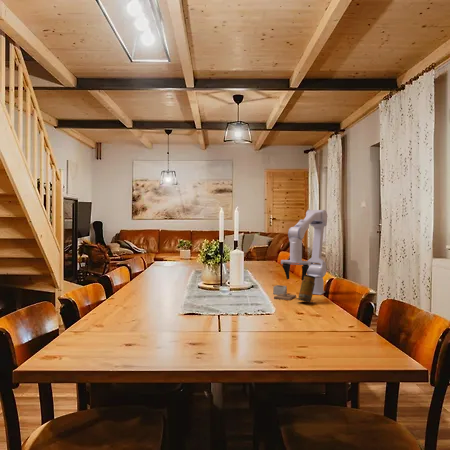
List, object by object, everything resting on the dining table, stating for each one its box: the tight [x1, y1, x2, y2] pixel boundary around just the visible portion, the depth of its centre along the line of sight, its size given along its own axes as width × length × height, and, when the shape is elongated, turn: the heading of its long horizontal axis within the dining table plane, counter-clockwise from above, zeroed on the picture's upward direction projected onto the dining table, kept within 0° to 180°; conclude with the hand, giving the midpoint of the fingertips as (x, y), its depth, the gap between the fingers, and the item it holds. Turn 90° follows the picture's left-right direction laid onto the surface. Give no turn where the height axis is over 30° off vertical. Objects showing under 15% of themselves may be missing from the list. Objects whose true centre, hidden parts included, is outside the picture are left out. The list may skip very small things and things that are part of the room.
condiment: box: [295, 274, 315, 304], centre depth 212 cm, size 7×8×12 cm
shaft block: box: [273, 289, 297, 301], centre depth 224 cm, size 10×8×4 cm
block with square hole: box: [272, 284, 287, 296], centre depth 236 cm, size 5×5×4 cm
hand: (295, 279), depth 219 cm, fingers open, 7 cm apart
